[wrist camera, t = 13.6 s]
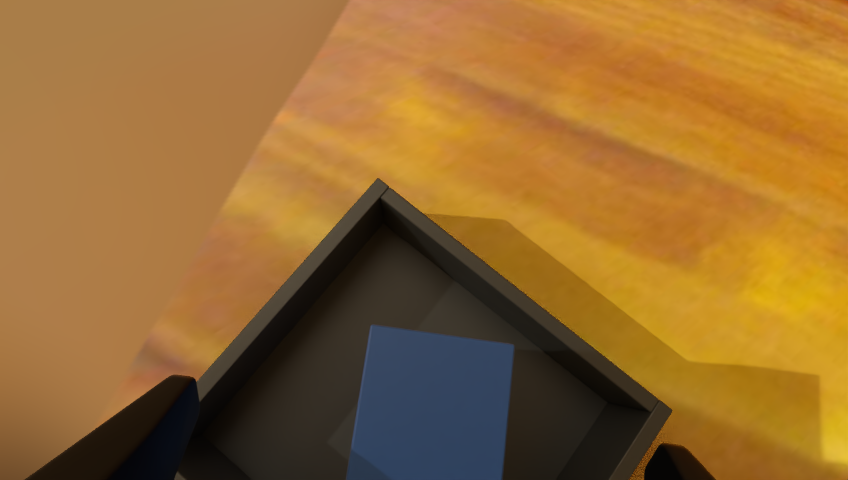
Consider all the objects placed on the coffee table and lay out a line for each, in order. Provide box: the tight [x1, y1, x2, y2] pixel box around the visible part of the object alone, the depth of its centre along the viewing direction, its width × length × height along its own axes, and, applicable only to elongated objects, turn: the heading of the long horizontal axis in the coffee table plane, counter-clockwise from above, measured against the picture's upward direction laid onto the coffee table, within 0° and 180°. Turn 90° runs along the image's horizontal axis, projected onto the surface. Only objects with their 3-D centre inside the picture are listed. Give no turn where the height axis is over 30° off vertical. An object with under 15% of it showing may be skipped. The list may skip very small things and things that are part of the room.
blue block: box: [346, 324, 515, 480], centre depth 15 cm, size 3×6×12 cm, turn 172°
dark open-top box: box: [174, 178, 672, 480], centre depth 20 cm, size 14×13×4 cm
